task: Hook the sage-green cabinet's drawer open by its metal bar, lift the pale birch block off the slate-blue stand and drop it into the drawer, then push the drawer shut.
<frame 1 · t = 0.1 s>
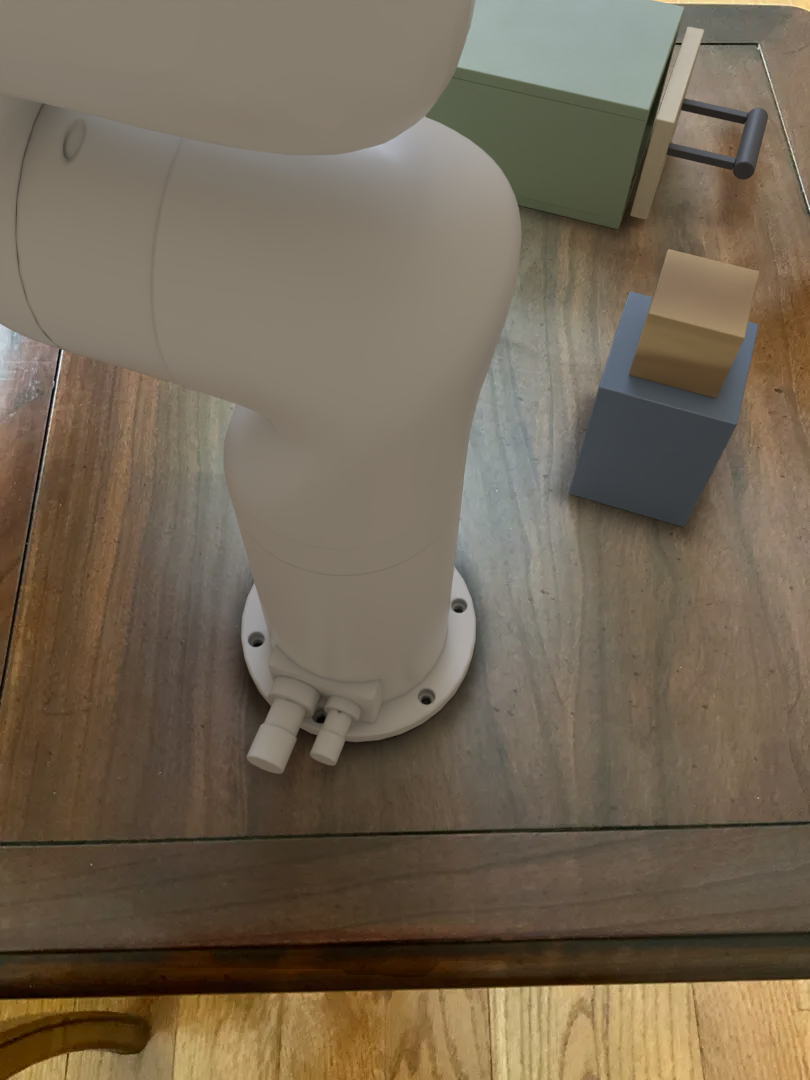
block: (680, 354, 50), point 10 cm above the table, touching stand
drawer: (621, 113, 67), point 5 cm above the table, slide at 0.5 cm
stand: (638, 464, 58), on the table
cabinet: (540, 155, 72), on the table
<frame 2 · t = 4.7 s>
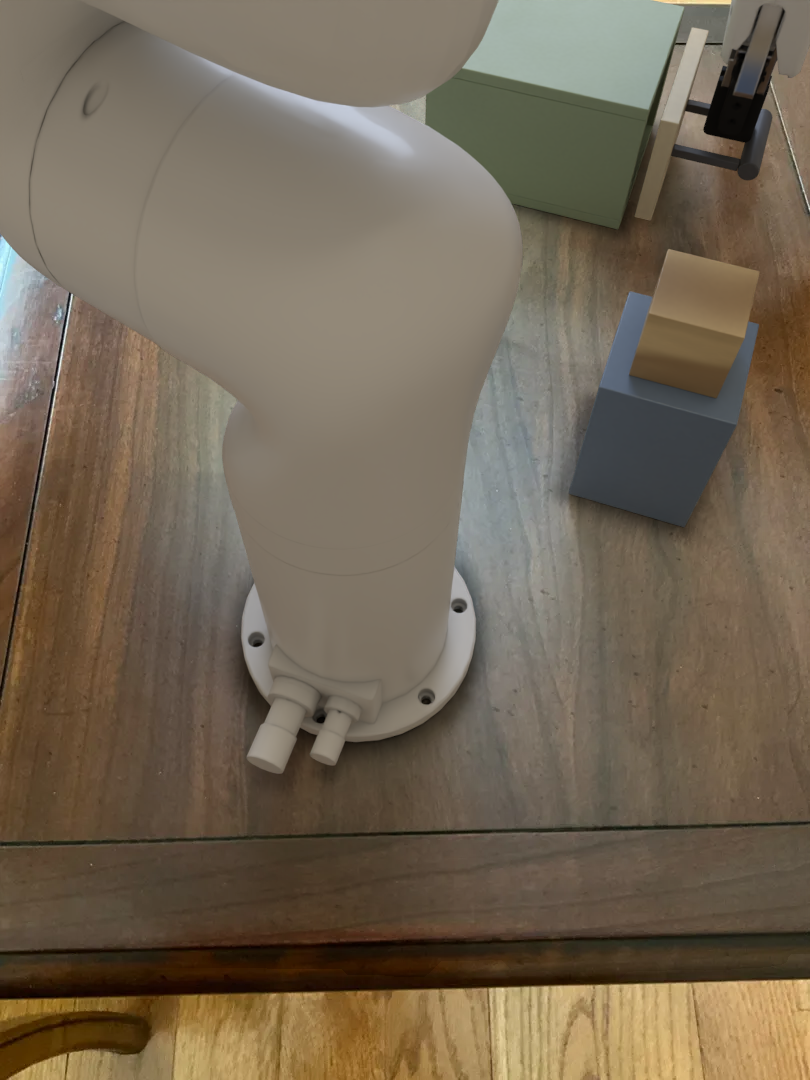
hand: (727, 130, 66), 5 cm above the table, tool pointing down, fingers closed
drawer: (625, 114, 67), point 5 cm above the table, slide at 0.8 cm, touching gripper
everything else where it was.
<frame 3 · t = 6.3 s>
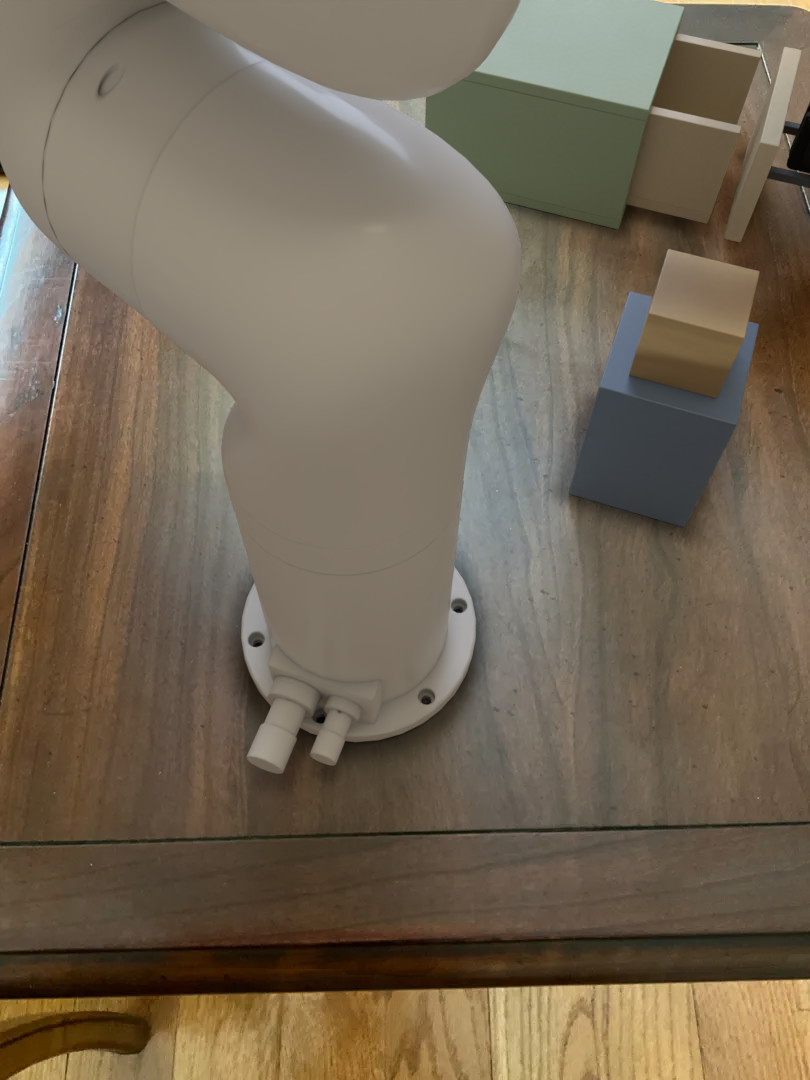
drawer: (715, 135, 66), point 5 cm above the table, slide at 7.1 cm
everything else where it was.
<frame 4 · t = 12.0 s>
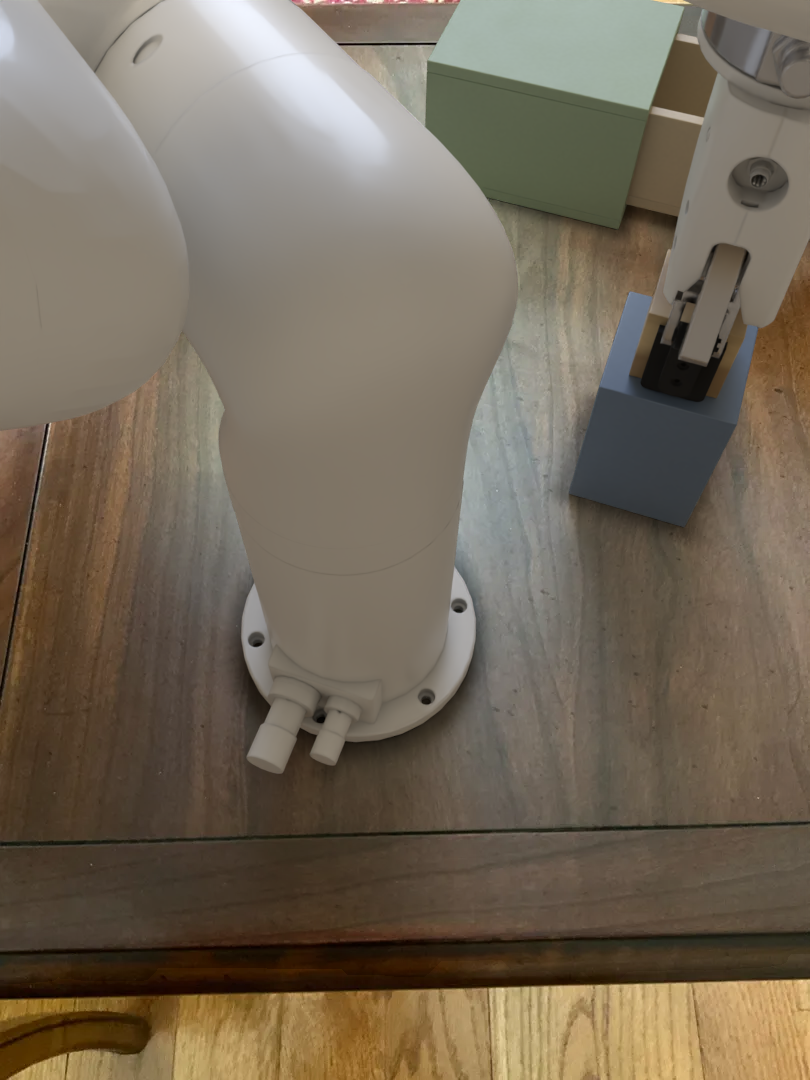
hand: (682, 349, 49), 10 cm above the table, tool pointing down, fingers closed on block, 4 cm apart
block: (680, 354, 50), point 10 cm above the table, touching gripper, stand
everything else where it was.
when the fingers open (9 cm above the table, at t = 19.9 s): block stays where it is, resting on drawer.
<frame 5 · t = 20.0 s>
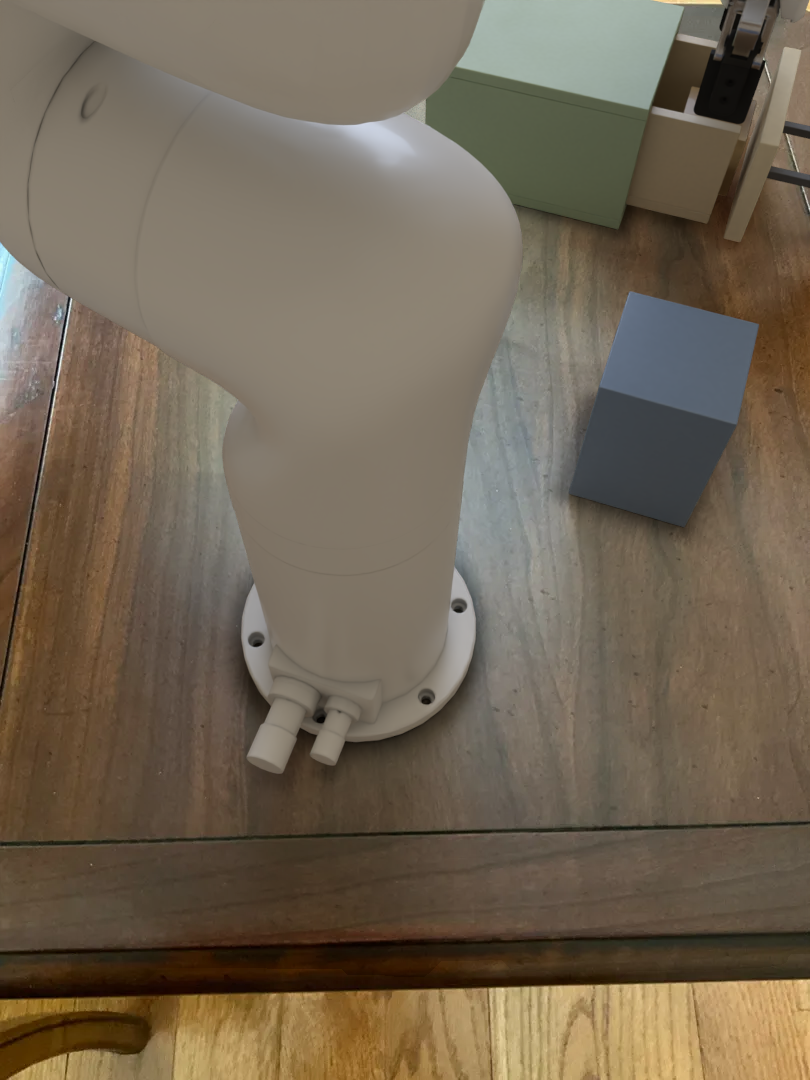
hand: (730, 73, 62), 9 cm above the table, tool pointing down, fingers open, 8 cm apart
block: (700, 168, 69), point 2 cm above the table, touching drawer
drawer: (715, 135, 66), point 5 cm above the table, slide at 7.1 cm, touching block
everything else where it was.
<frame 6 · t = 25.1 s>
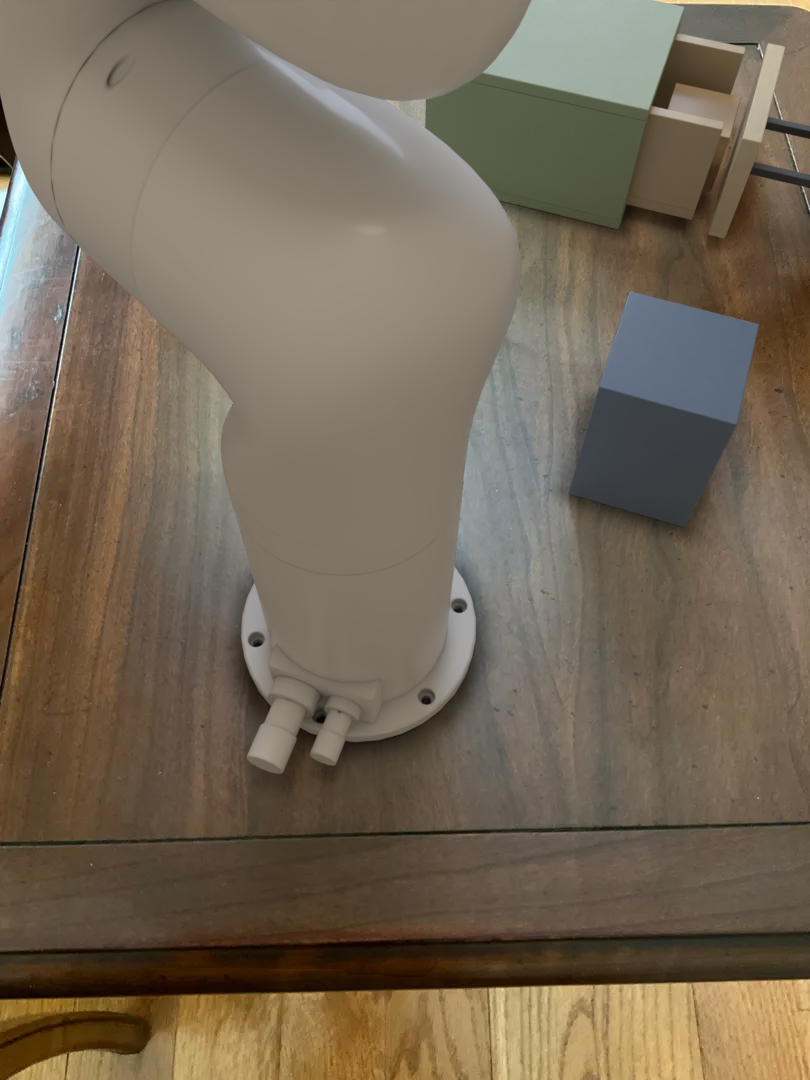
block: (685, 165, 69), point 2 cm above the table, touching drawer
drawer: (699, 131, 66), point 5 cm above the table, slide at 6.0 cm, touching block
everything else where it was.
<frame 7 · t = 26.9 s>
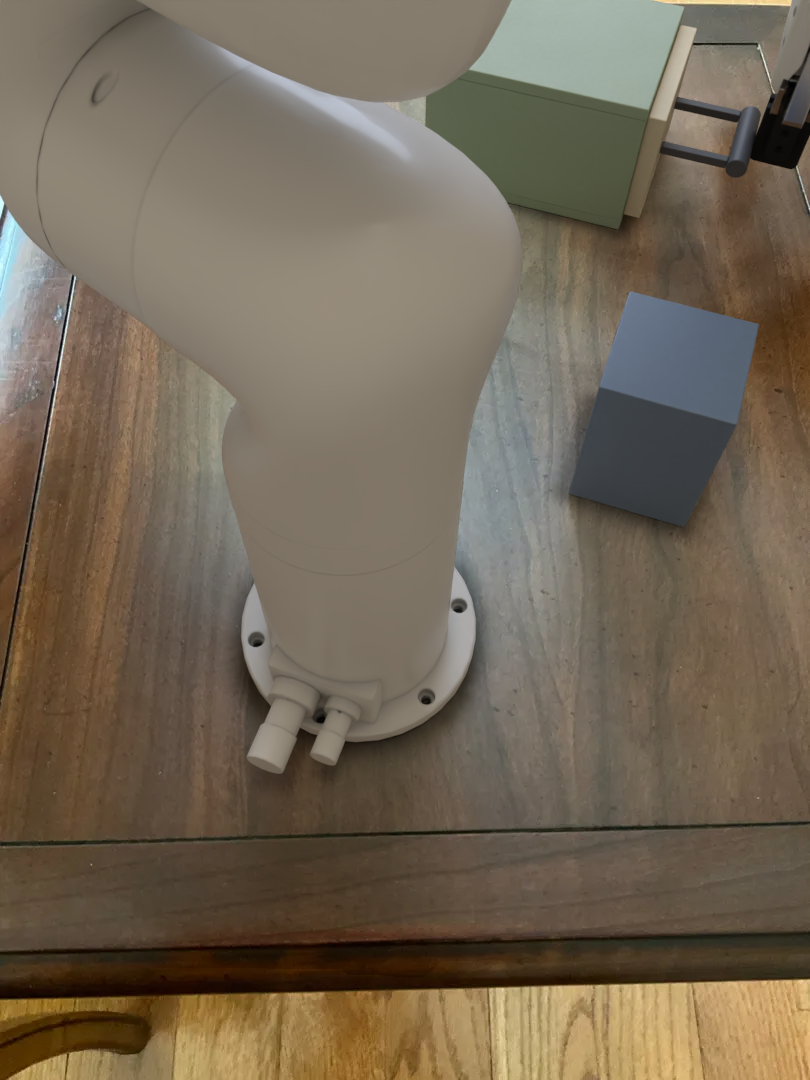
hand: (773, 156, 66), 4 cm above the table, tool pointing down, fingers closed
block: (603, 146, 70), point 2 cm above the table, touching drawer
drawer: (614, 112, 67), point 5 cm above the table, slide at 0.0 cm, touching block, cabinet, gripper
everything else where it was.
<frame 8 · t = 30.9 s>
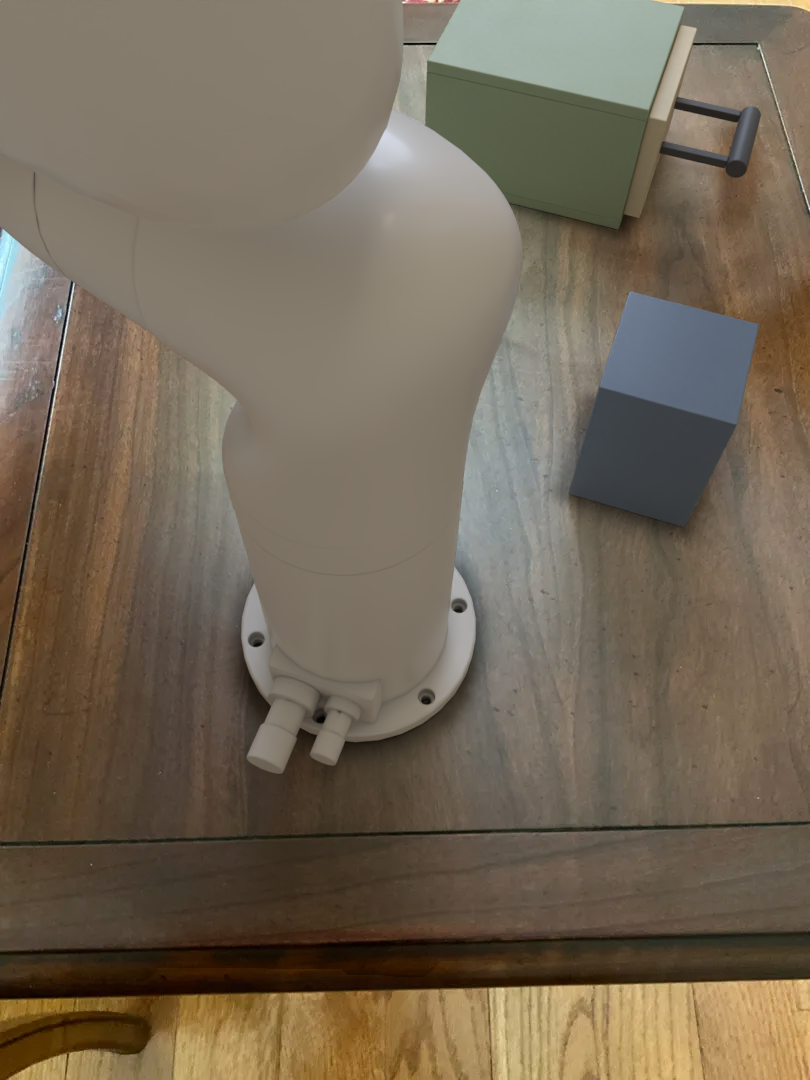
drawer: (614, 112, 67), point 5 cm above the table, slide at 0.0 cm, touching block, cabinet
everything else where it was.
at the end: drawer pulled out 7.1 cm at the most during the clip, back to where it started at the end; block inside the target area in the cabinet (4.4 cm from its centre), point 2.0 cm above the cabinet's base; drawer slide at 0.0 cm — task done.
